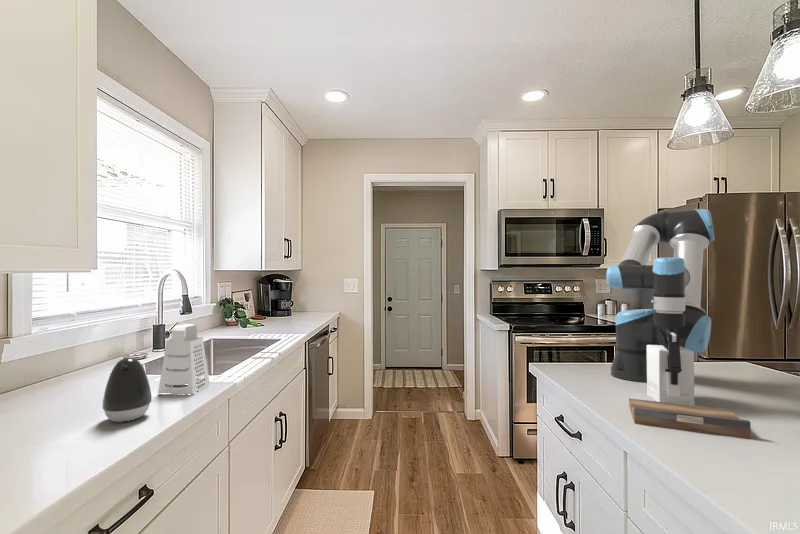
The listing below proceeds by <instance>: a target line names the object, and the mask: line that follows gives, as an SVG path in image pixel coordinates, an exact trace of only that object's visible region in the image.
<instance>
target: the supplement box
mask: <svg viewBox="0 0 800 534" xmlns="http://www.w3.org/2000/svg"><path fill="white" fill-rule="evenodd" d="M668 355H669V351H668V350H667V349H666V348H664V346H662V345H647V382H646V395H647V396H648V397H649V398H650V399H652V401H657V402H666V403H675V404H684V405H693V406H695V352H694V351H691V350H688V349H686V348H683V347H680V359H681V369H682V371H681V372H680V397H675V396H668V395H667V372H665V369H668ZM673 367H676V366H673Z"/></svg>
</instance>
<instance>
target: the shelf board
mask: <svg viewBox="0 0 800 534" xmlns="http://www.w3.org/2000/svg"><path fill="white" fill-rule="evenodd" d="M628 407H629V411H630V413H631V416H632V419H633V422H634V424H637V425H646V426H653V427H658V426H659V427H661V428H667V429H674V428H675V430H681V429H685V430H684V431H689V430H692V431H691V432H696V431H700V432H699V433H704V432H706V433H705V434H711V433H714V434H713V435H719V434H721V435H720V436H726V435H728V436H727V437H734V436H735V437H736V438H744V439H751V421H750V420H748V419H743V418H741V419H740V418H739V417H738V416H737V415H736V414H735V413H734V412H733V411H731V409H727V408H717V407H712V406H711V407H710V406H700V405H694V406H693V405H684V404H675V403H666V402H657V401H655V400H647V399H637V398H636V399H635V398H630V397H629V398H628ZM735 437H734V438H735Z"/></svg>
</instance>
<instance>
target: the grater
mask: <svg viewBox="0 0 800 534" xmlns="http://www.w3.org/2000/svg"><path fill="white" fill-rule="evenodd" d="M171 331H172V333H171V334H172V335H171V336H172V339H170V340H166V342H165V347H164V354H163V360H162V361H163V362H162V367H161V374H160V380H159V383H158V384H159V385H158V391H157V394H158V393H171V394H194V393H195V392H197V391H199V390H201V389H203V388H205V387H206V388H208V387H210V386H211V384H210V378H209V371H208V365H207V364H208V363H207V358H206V350H205V344H204V337H203V336H201V337H199V336H198V327H197V324H187V323H186V324H181V325H176V326H173V328H172V330H171ZM185 384H188V385H185ZM196 384H197V385H196ZM175 385H177V386H180V387H177V386H175ZM209 385H210V386H209ZM172 386H175V387H172ZM181 386H183V387H181ZM207 386H208V387H207ZM206 388H205V389H206ZM203 390H204V389H203ZM201 391H202V390H201ZM199 392H200V391H199ZM194 395H195V394H194Z"/></svg>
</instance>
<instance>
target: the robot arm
mask: <svg viewBox="0 0 800 534" xmlns="http://www.w3.org/2000/svg"><path fill="white" fill-rule="evenodd" d="M714 231H715V230H714V225H713V219H712V212H711V211H710V210H709V209H707V208H700V209H699V208H694V209H686V210H685V209H684V210H676V211H662V212H661V211H660V212H656V213H653V214H651V215H648V216H646V217H645V218H643V219H642V220H640V221H639V222H637V223H636V225H635V226H634V227H633V229H632V230H631V233H630V240H629V241H630V242H629V243H628V245H627V247H626V250H625V252H624V254H623V256H622V258H621V260H620V262H619V265H618V264H615V265H610V266H608V267H607V269H606V276H605V277H606V283H607V285H608V287H609V288H611V289H620V290H623V289H625V290H626V289H629V290H630V289H632V290H635V289H636V290H653V299H651V300H650V302H651V303H652V304H653V308H641V309H627V310H622V311H618V312H617V314H616V316H615V317H616V318H615V323H614V324H615V355H614V357H613V361H612V363H611V366H610V376H613V377H615V378H617V379H621V380H625V381H626V380H627V381H632V382H643V383H644V382H645V383H647V345H662V346H664V348H666V349H667V350H668V351H669V355H668V369H665V372H667V395H668V396H675V397H680V372H681V371H682V369H681V359H680V347H683V348H686V349H688V350H691V351H694V353H703V352H705V351H706V350H707V348H708V346H709V343H710V339H711V333H712V332H711V331H712V318H711V317H710V316H708V315H707V313H706V311H705V309H703V308H702V307H701V305H702V304H701V302H702V285H703V284H702V283H703V264H704V261H703V260H704V250H705V249H707V247H709V245H710V242H713V241H715V232H714ZM663 243H665V244H666V243H667V244H669V246H670V247H671V248H672V249H673V256H672V257H656V258H654V260H653V264H650V265H648V261H649V259H650V257H651V254H652V251H653V249H654V247H655V246H657V245H658V244H663ZM673 366H676V367H673Z"/></svg>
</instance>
